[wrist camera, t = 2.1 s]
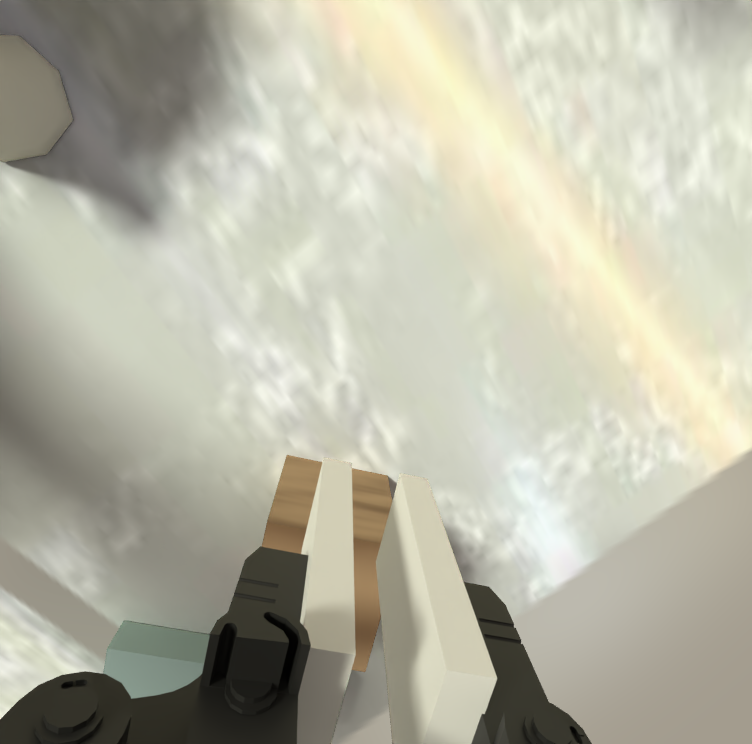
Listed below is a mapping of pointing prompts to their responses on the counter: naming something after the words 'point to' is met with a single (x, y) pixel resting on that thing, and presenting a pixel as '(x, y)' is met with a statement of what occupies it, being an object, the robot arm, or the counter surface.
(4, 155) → the flask
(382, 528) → the block
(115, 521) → the counter surface
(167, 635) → the board
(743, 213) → the counter surface
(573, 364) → the counter surface
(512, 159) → the counter surface
